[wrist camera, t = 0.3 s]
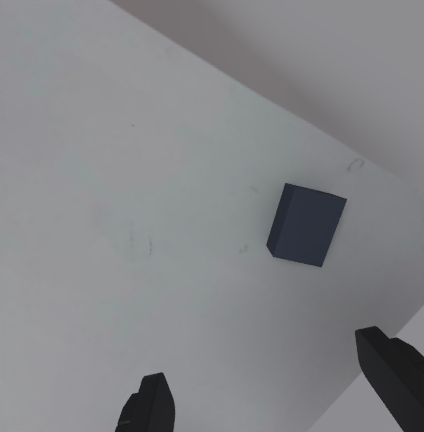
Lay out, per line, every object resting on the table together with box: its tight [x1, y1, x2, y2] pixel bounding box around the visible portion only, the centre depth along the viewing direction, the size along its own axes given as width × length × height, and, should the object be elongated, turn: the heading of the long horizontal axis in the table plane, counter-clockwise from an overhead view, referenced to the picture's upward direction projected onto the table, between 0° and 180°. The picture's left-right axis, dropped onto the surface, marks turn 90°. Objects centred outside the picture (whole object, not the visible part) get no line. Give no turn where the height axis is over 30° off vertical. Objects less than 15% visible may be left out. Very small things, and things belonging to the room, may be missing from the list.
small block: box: [266, 183, 347, 267], centre depth 24 cm, size 7×5×3 cm
